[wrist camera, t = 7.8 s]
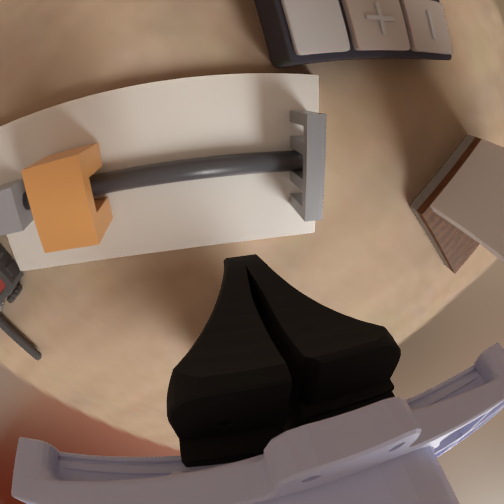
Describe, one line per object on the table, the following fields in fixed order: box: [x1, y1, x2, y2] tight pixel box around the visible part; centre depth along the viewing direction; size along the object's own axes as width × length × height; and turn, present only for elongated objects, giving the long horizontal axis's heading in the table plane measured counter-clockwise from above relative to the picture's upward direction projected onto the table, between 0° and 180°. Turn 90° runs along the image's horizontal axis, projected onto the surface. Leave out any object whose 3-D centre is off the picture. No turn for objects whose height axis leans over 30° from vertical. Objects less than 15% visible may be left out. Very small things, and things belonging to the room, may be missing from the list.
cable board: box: [0, 73, 326, 271], centre depth 17 cm, size 12×25×4 cm, turn 91°
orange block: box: [21, 143, 113, 253], centre depth 16 cm, size 5×4×4 cm
